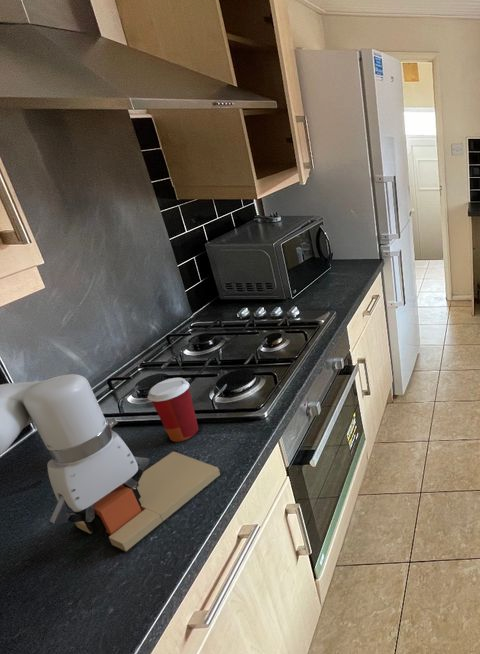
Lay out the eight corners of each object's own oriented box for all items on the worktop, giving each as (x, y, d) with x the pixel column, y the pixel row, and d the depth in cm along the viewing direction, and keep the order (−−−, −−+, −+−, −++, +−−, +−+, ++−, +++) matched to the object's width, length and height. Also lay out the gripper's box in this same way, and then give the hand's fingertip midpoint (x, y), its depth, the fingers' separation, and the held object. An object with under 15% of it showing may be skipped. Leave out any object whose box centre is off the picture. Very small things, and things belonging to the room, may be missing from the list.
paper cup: (203, 418, 107) (187, 372, 102) (204, 435, 101) (188, 388, 96) (164, 431, 103) (146, 384, 97) (163, 450, 97) (144, 401, 92)
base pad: (126, 551, 75) (122, 544, 74) (77, 527, 79) (73, 520, 78) (220, 474, 90) (218, 467, 90) (175, 457, 95) (173, 451, 94)
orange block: (112, 535, 76) (100, 511, 74) (94, 526, 78) (82, 503, 75) (142, 512, 80) (132, 489, 78) (125, 504, 82) (114, 481, 80)
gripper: (123, 406, 81) (153, 476, 87) (0, 474, 66) (47, 552, 72) (149, 415, 78) (177, 486, 85) (28, 487, 64) (73, 567, 70)
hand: (117, 516), depth 79 cm, fingers closed on orange block, 5 cm apart
